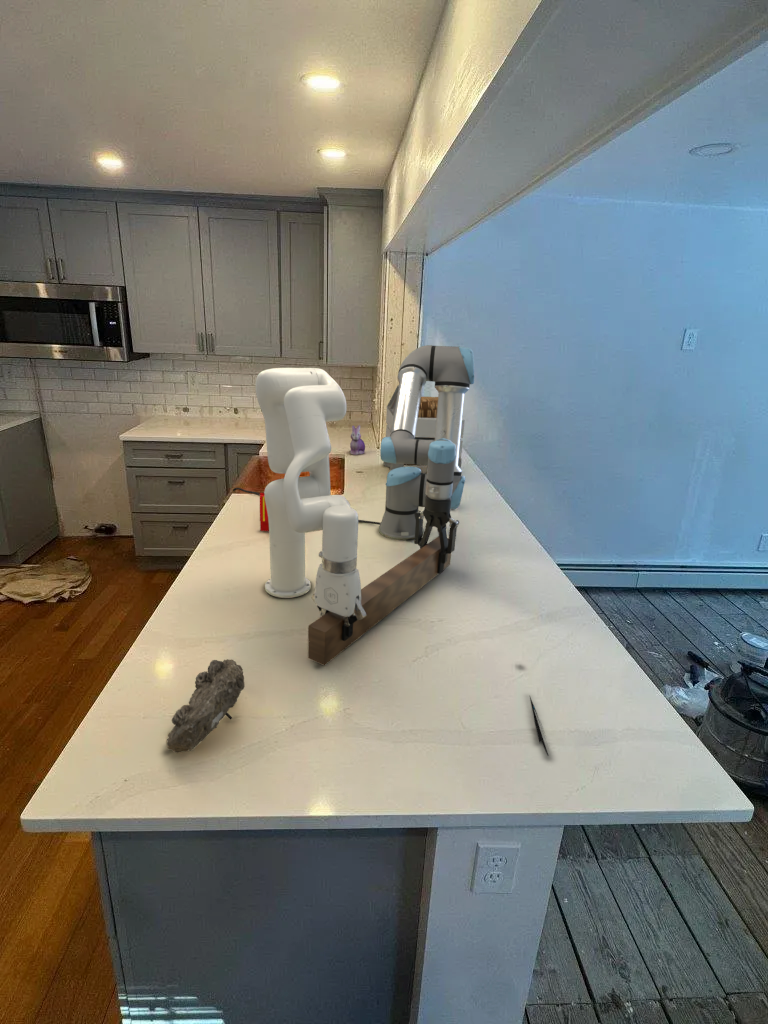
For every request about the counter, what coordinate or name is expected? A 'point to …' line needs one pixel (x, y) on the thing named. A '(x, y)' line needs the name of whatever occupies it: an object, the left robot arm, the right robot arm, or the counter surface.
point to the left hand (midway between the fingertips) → (337, 633)
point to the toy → (263, 514)
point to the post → (375, 602)
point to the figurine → (356, 442)
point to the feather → (538, 726)
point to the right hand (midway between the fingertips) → (432, 569)
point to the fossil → (206, 705)
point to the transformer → (419, 424)
